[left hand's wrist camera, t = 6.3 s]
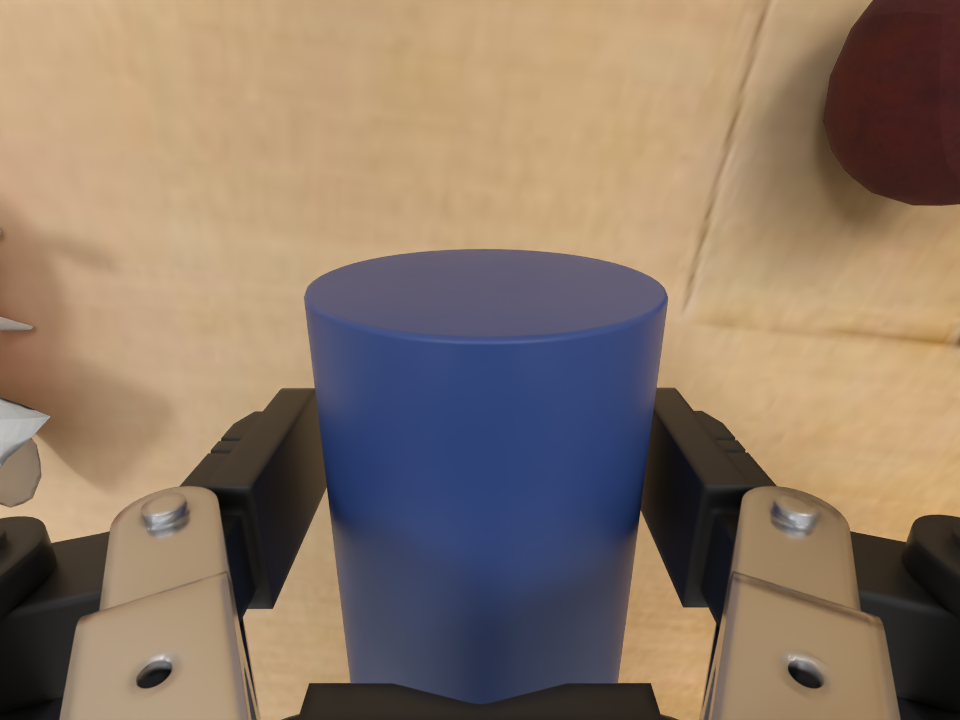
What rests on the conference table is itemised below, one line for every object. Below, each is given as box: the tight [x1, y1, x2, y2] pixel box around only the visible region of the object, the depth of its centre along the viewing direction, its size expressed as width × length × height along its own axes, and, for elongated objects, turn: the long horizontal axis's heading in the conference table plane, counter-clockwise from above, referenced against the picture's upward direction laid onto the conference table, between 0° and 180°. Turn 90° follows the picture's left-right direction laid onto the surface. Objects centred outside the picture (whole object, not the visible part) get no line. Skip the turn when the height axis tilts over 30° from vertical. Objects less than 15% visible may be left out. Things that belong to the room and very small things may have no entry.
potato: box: [824, 0, 960, 206], centre depth 18 cm, size 7×8×7 cm
